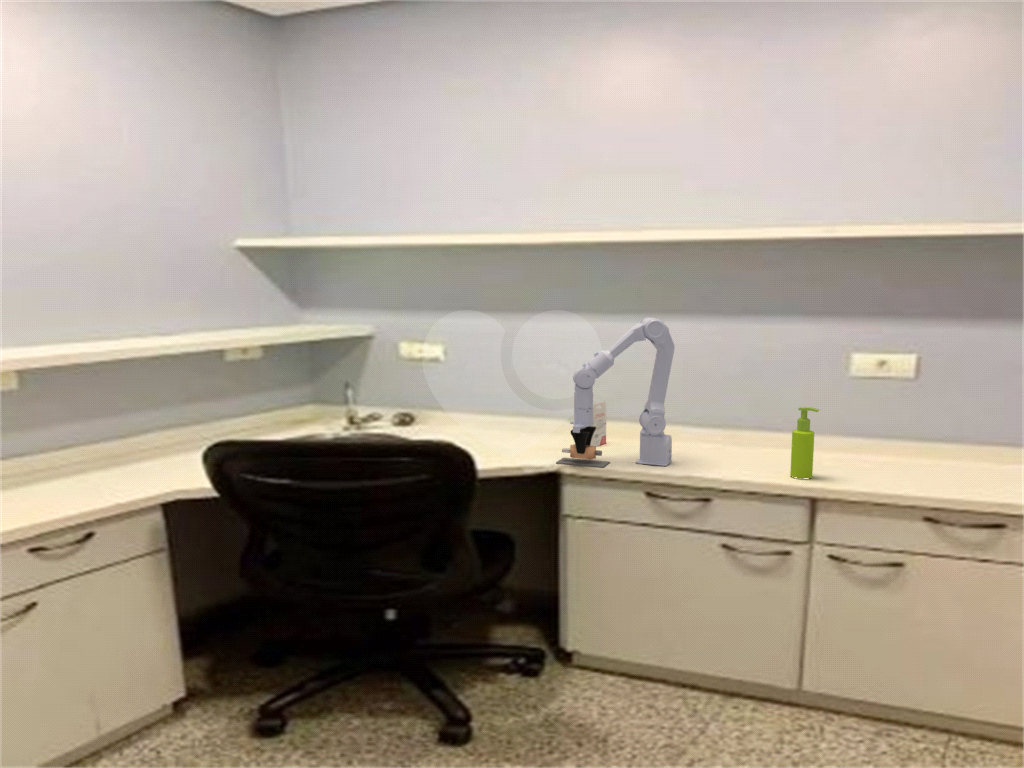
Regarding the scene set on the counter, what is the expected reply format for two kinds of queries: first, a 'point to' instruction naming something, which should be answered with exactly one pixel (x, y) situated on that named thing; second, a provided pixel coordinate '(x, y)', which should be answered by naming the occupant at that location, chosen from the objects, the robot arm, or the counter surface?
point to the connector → (589, 453)
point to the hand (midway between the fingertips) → (583, 451)
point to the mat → (583, 462)
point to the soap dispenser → (802, 446)
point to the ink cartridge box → (599, 424)
